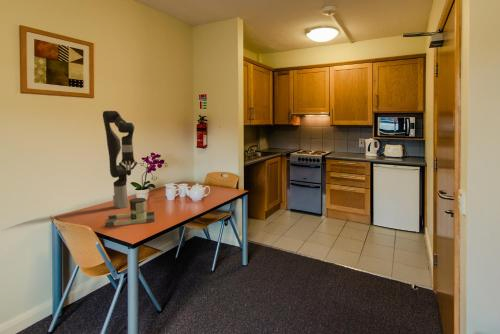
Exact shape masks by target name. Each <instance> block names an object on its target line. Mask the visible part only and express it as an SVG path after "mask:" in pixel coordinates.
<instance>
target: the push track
mask: <svg viewBox="0 0 500 334" xmlns="http://www.w3.org/2000/svg"><path fill="white" fill-rule="evenodd" d="M107 216H108V217H107V219H108V220H107V221H106V222H104V226H105V227H114V226H122V225H123V226H124V225H136V224H142V223H145V224H146V223H154V222H155V211H146V217H147V218H145V219H134V220H131V213H123V214H112V215H111V214H110V215H107ZM129 218H130V219H129ZM119 219H125V220H119ZM126 219H127V220H126Z"/></svg>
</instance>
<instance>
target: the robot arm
mask: <svg viewBox="0 0 500 334" xmlns="http://www.w3.org/2000/svg"><path fill="white" fill-rule="evenodd" d="M102 119H103V125H104V130H105V136H106V144H107V150H108V157H109V158H108V159H109V173H110V176H111V177H112V178H114V179H115V178H117V179H116V180H115V181H114V182H113V194H114V195H112V198H113V208H116V209H123V208H127V207H128V206H129V205H128V190H127V182H128V176H131V175H132V170H134V169H135V167H136V166H137V164H138V161H136V160H135V158H134V157H135V156H134V145H133V137H134V133H135V125H134V123H133V122H127V121H126V120H125V119H124V118H123V117H122V116H121V115H120V113H119V112H118V111H117V110H104V111H102ZM111 124H114V126H115V127H117V128H118V129H117V130H118V132H119V133H121V134H124V133H125V134H127V135H123V136H121V139H120V137H119V136H118V135H117V134H116V133H115V132H114V131H113V129H112V127H111ZM120 152H121V161H120V162H118V163H117V159H118V156H119V154H120ZM132 165H133V166H132Z"/></svg>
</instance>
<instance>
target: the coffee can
mask: <svg viewBox="0 0 500 334" xmlns="http://www.w3.org/2000/svg"><path fill="white" fill-rule="evenodd" d="M146 200H147V199H146V198H145V197H136V198H131V199H130V200H129V212H130V214H131V217H130V220H134V219H145V218H147V216H146V212H147V205H146V204H147V203H146Z"/></svg>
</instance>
